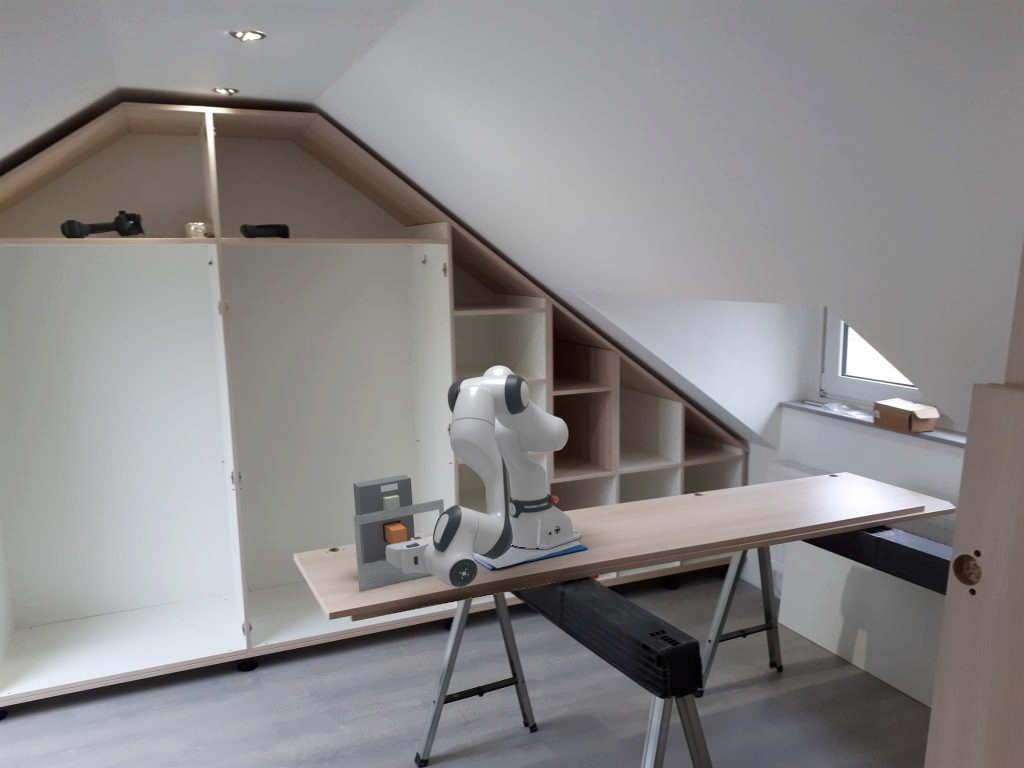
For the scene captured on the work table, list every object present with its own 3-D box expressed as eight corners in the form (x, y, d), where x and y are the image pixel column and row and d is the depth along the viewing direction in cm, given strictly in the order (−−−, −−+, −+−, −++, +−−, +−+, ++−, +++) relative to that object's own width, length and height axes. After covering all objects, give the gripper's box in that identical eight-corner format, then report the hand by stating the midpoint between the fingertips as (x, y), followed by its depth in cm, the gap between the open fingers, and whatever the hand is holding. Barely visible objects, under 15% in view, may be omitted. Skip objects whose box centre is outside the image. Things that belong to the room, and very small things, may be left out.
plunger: (407, 542, 230) (406, 528, 229) (393, 545, 228) (392, 531, 227) (398, 535, 236) (397, 521, 235) (384, 538, 234) (383, 524, 234)
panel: (419, 569, 237) (413, 479, 233) (368, 581, 230) (361, 488, 226) (410, 562, 243) (404, 474, 239) (360, 573, 236) (353, 483, 232)
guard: (447, 570, 235) (443, 499, 232) (359, 591, 223) (354, 516, 220) (436, 563, 241) (432, 493, 239) (351, 582, 230) (345, 509, 227)
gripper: (474, 534, 210) (451, 521, 222) (396, 549, 200) (377, 535, 212) (475, 558, 211) (452, 544, 223) (398, 575, 201) (379, 559, 213)
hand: (415, 539), depth 217 cm, fingers closed
